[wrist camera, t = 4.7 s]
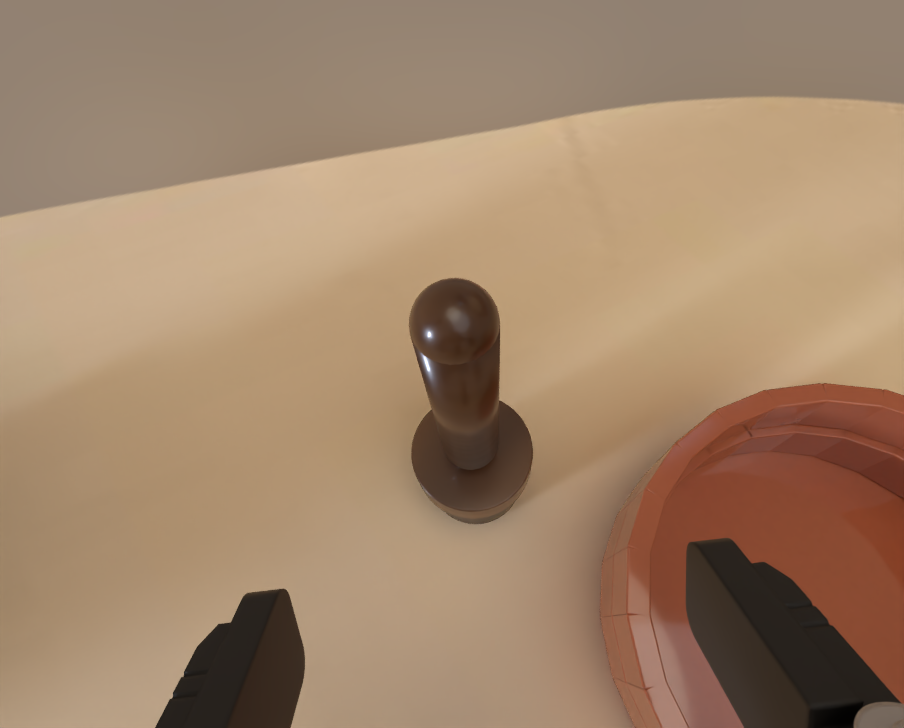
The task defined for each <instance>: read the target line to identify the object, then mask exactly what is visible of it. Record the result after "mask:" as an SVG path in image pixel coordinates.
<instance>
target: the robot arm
mask: <svg viewBox="0 0 904 728" xmlns="http://www.w3.org/2000/svg"><path fill="white" fill-rule="evenodd" d="M686 612H687V617H688V621H689V625H690V628H691V630H692V633H693V635H694V638H695V640H696V641H697V643H698V645H699V647H700V649H701V650H702V652H703V654H704V656H705V658H706V660H707V661H708V663H709V665H710V667H711V669H712V670H713V672H714V674H715V676H716V678H717V679H718V681H719V683H720V685H721V687H722V688H723V690H724V692H725V694H726V696H727V697H728V699H729V701H730V703H731V705H732V706H733V708H734V710H735V712H736V714H737V715H738V717H739V719H740V721H741V723H742V724H743V726H744V728H904V704H902V703H901V702H900V701H899V700H898V699H897V698H896V697H895V696H894V694H893V693H892V692H891V691H890V690H889V689H888V688H887V687H886V685H885V684H884V683H883V682H882V681H881V680H880V679H879V677H878V676H877V675H876V674H875V673H874V672H873V671H872V669H871V668H870V667H869V666H868V665H867V664H866V663H865V662H864V660H863V659H862V658H861V657H860V656H859V655H858V654H857V652H856V651H855V650H854V649H853V648H852V647H851V646H850V644H849V643H848V642H847V641H846V640H845V639H844V638H843V636H842V635H841V634H840V633H839V632H838V631H837V630H836V629H835V627H834V626H833V625H830V624H829V622H828V619H827V618H826V617H825V616H824V615H823V614H822V613H821V611H820V610H819V609H818V608H817V607H816V606H813V605H812V601H811V600H810V599H809V598H808V597H807V596H806V594H805V593H804V592H803V591H802V590H801V589H800V588H799V586H798V585H797V584H796V583H795V582H794V581H793V580H792V579H791V578H789V577H788V576H786V575H785V574H783V573H782V572H780V571H779V570H777V569H775V568H774V567H772V566H771V565H769V564H768V563H766V562H758V563H751V562H750V561H749V559H748V558H747V557H746V556H745V554H744V553H743V552H742V551H741V549H740V548H739V547H738V546H737V544H736V543H735V542H734V541H733V540H732V539H730V538H720V539H711V540H703V541H695V542H689V543H688V545H687V551H686ZM304 670H305V655H304V647H303V643H302V640H301V636H300V632H299V629H298V625H297V621H296V618H295V614H294V611H293V607H292V603H291V600H290V596H289V594H288V592H287V590H285V589H277V590H268V591H260V592H251V593H247V594H245V595H244V597H243V598H242V600H241V602H240V604H239V606H238V608H237V611H236V613H235V615H234V617H233V619H232V621H231V623H224V624H218V625H217V626H216V627H215V629H214V630H213V631H212V632H211V633H210V634H209V635H208V636H207V637H206V638H205V639H204V640H203V641H202V642H201V643H200V644H199V645H198V646H197V648H196V650H195V652H194V654H193V656H192V658H191V660H190V662H189V663H188V665H187V667H186V669H185V671H184V677H181V679H180V681H179V683H178V685H177V687H176V689H175V690H174V692H173V698H172V699H170V700H169V702H168V704H167V706H166V708H165V710H164V712H163V714H162V716H161V717H160V719H159V721H158V723H157V725H156V727H155V728H290V727H291V724H292V720H293V716H294V713H295V709H296V705H297V702H298V698H299V694H300V691H301V687H302V683H303V678H304Z"/></svg>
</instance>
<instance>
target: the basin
mask: <svg viewBox="0 0 904 728" xmlns="http://www.w3.org/2000/svg"><path fill="white" fill-rule="evenodd" d="M720 538H730V539H732V540H733V541H734V542H735V543H736V544H737V546H738V547H739V548H740V549H741V551H742V552H743V553H744V554H745V556H746V557H747V558H748V559H749V561H750V562H751V563H758V562H766V563H768V564H769V565H771V566H772V567H774V568H775V569H777V570H779V571H780V572H782V573H783V574H785V575H786V576H788V577H789V578H791V579H792V580H793V581H794V582H795V583H796V584H797V585H798V586H799V588H800V589H801V590H802V591H803V592H804V593H805V594H806V596H807V597H808V598H809V599H810V600H811V601H812V605H813V606H816V607H817V608H818V609H819V610H820V611H821V613H822V614H823V615H824V616H825V617H826V618H827V619H828V622H829V624H830V625H833V626H834V627H835V629H836V630H837V631H838V632H839V633H840V634H841V635H842V636H843V638H844V639H845V640H846V641H847V642H848V643H849V644H850V646H851V647H852V648H853V649H854V650H855V651H856V652H857V654H858V655H859V656H860V657H861V658H862V659H863V660H864V662H865V663H866V664H867V665H868V666H869V667H870V668H871V669H872V671H873V672H874V673H875V674H876V675H877V676H878V677H879V679H880V680H881V681H882V682H883V683H884V684H885V685H886V687H887V688H888V689H889V690H890V691H891V692H892V693H893V694H894V696H895V697H896V698H897V699H898V700H899V701H900V702H901V703H902V704H904V395H901V394H898V393H894V392H891V391H888V390H882V389H874V388H864V387H855V386H845V385H836V384H827V383H823V384H820V383H818V384H810V385H802V386H794V387H786V388H778V389H770V390H763V391H761V392H758V393H756V394H754V395H751V396H749V397H746V398H744V399H741V400H739V401H736V402H734V403H731V404H729V405H727V406H724V407H722V408H719V409H717V410H716V411H714V412H713V413H711V414H710V415H709V416H708V417H706V418H705V419H704V420H703V421H701V422H700V423H699V424H698V425H697V426H695V427H694V428H693V429H692V430H690V431H689V432H688V433H687V434H685V435H684V436H683V437H682V438H680V439H679V440H678V441H677V442H676V443H675V444H674V445H673V446H672V447H671V448H670V449H669V450H668V451H667V452H666V453H665V454H664V455H663V456H662V457H661V458H660V459H659V460H658V461H657V462H656V463H655V464H654V465H653V467H652V468H651V469H650V470H649V471H648V472H647V473H646V474H645V475H644V476H643V477H642V478H641V480H640V481H639V483H638V484H637V486H636V487H635V489H634V490H633V492H632V493H631V495H630V496H629V498H628V499H627V501H626V502H625V504H624V505H623V507H622V508H621V509H620V511H619V512H618V514H617V516H616V519H615V522H614V526H613V529H612V532H611V535H610V538H609V542H608V545H607V548H606V551H605V555H604V558H603V563H602V577H601V603H600V617H601V618H600V620H601V624H602V629H603V634H604V639H605V644H606V649H607V654H608V659H609V663H610V668H611V673H612V676H613V680H614V682H615V684H616V686H617V689H618V691H619V693H620V695H621V698H622V700H623V702H624V704H625V706H626V709H627V711H628V713H629V715H630V717H631V720H632V722H633V724H634V726H635V728H744V726H743V724H742V723H741V721H740V719H739V717H738V715H737V714H736V712H735V710H734V708H733V706H732V705H731V703H730V701H729V699H728V697H727V696H726V694H725V692H724V690H723V688H722V687H721V685H720V683H719V681H718V679H717V678H716V676H715V674H714V672H713V670H712V669H711V667H710V665H709V663H708V661H707V660H706V658H705V656H704V654H703V652H702V650H701V649H700V647H699V645H698V643H697V641H696V640H695V638H694V635H693V633H692V630H691V628H690V625H689V621H688V617H687V612H686V551H687V545H688V543H689V542H695V541H703V540H711V539H720Z"/></svg>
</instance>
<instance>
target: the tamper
mask: <svg viewBox="0 0 904 728" xmlns="http://www.w3.org/2000/svg"><path fill="white" fill-rule="evenodd" d="M409 330H410V336H411V339H412V343H413V346H414V349H415V353H416V356H417V360H418V363H419V367H420V370H421V374H422V377H423V380H424V384H425V387H426V391H427V394H428V398H429V401H430V404H431V408H432V410H431V411H430V412H429V413H428V414H427V415H426V416H425V417H424V418H423V420H422V421H421V423H420V424H419V426H418V428H417V430H416V433H415V435H414V439H413V442H412V464H413V468H414V472H415V474H416V477H417V479H418V481H419V483H420V485H421V487H422V489H423V490H424V492H425V494H426V495H427V496H428V498H429V499H430V500H431V501H432V502H433V503H434V504H435V505H436V506H438V507H439V508H440V509H442V510H443V511H444V512H446V513H447V514H448V515H449V516H451V517H452V518H454V519H456V520H458V521H461V522H465V523H470V524H482V523H487V522H490V521H493V520H495V519H497V518H499V517H500V516H502V515H503V514H505V513H506V512H507V511H508V510H509V509H510V508H511V506H512V505H513V504H514V502H515V501H516V499H517V498H518V497H519V496H520V494H521V493H522V491H523V490H524V488H525V486H526V484H527V481H528V478H529V474H530V470H531V465H532V459H533V448H532V441H531V437H530V434H529V431H528V429H527V427H526V425H525V423H524V421H523V420H522V419H521V417H520V416H519V415H518V414H517V413H516V412H515V411H514V410H513V409H512V408H511V407H509V406H508V405H506V404H505V403H503V402H502V401H499V367H500V318H499V313H498V309H497V306H496V304H495V302H494V301H493V299H492V297H491V296H490V295H489V294H488V292H487V291H486V290H485V289H483V288H482V287H481V286H479V285H478V284H476V283H474V282H472V281H469V280H466V279H461V278H448V279H443V280H440V281H437V282H435V283H433V284H431V285H430V286H428V287H427V288H426V289H425V290H423V291H422V292H421V293H420V295H419V296H418V297H417V299H416V300H415V302H414V304H413V306H412V309H411V313H410V317H409Z"/></svg>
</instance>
